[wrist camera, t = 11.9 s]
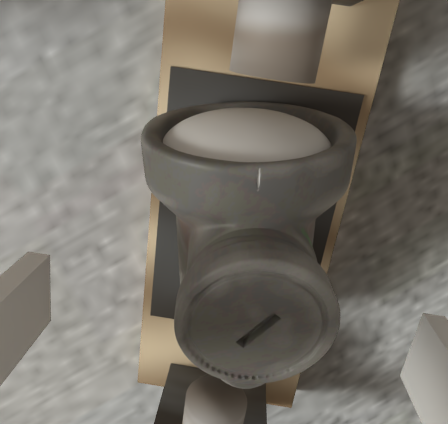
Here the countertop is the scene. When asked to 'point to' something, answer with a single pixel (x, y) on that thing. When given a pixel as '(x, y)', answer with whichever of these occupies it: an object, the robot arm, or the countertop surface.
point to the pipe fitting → (250, 232)
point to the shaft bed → (251, 92)
